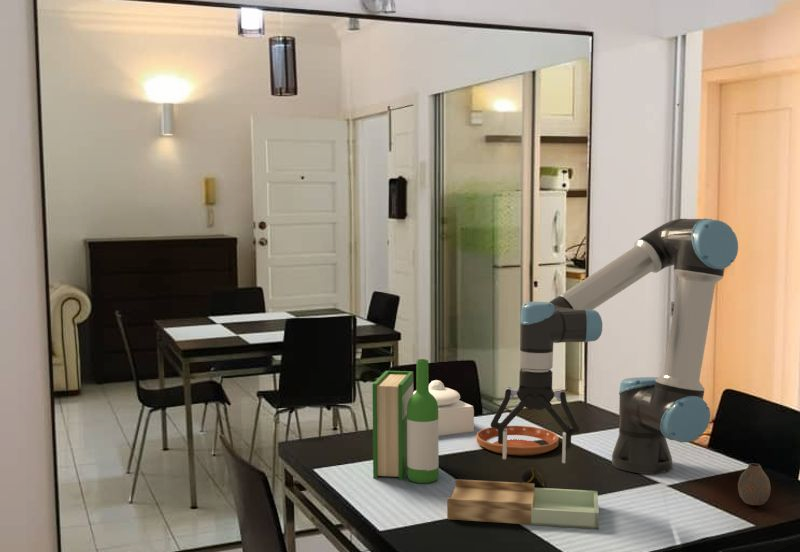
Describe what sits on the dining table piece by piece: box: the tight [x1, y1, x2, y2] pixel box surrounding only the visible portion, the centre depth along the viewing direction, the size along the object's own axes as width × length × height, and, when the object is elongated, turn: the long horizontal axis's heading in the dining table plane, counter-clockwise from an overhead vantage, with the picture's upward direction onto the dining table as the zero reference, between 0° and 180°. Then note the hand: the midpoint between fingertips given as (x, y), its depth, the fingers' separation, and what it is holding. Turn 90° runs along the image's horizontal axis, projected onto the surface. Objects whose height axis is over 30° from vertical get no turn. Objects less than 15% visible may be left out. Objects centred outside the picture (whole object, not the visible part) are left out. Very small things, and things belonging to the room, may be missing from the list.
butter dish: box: [413, 379, 475, 437], centre depth 266 cm, size 18×18×16 cm
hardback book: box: [372, 370, 414, 481], centre depth 227 cm, size 18×7×24 cm, turn 170°
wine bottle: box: [406, 358, 440, 484], centre depth 218 cm, size 8×8×30 cm
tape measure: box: [520, 466, 549, 488], centre depth 205 cm, size 7×7×4 cm
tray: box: [531, 487, 600, 530], centre depth 193 cm, size 14×15×4 cm
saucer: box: [476, 425, 560, 456], centre depth 248 cm, size 23×23×4 cm
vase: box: [737, 462, 771, 506], centre depth 201 cm, size 7×7×9 cm
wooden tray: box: [446, 478, 535, 526], centre depth 196 cm, size 18×14×4 cm
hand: (533, 459), depth 205 cm, fingers open, 13 cm apart
